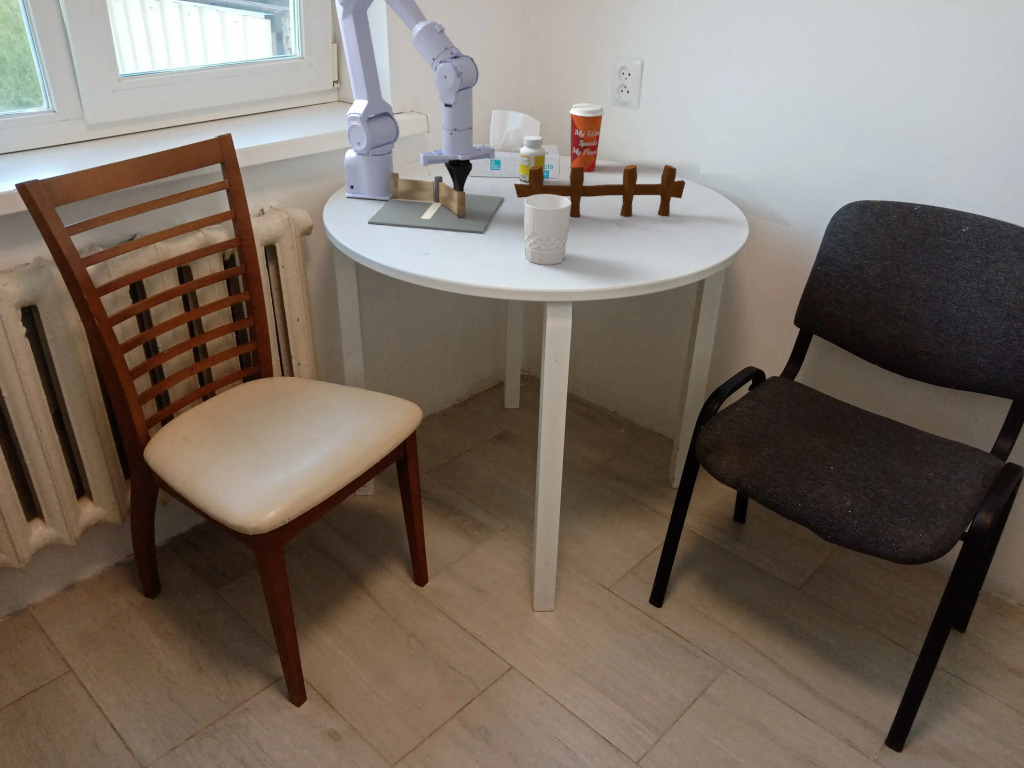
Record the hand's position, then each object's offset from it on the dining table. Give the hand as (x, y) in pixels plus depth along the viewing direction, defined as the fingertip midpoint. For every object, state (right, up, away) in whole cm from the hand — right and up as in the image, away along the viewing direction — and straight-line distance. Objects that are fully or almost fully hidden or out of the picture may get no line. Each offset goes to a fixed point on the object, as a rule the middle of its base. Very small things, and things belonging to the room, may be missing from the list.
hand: (458, 198), depth 154 cm
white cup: (+16, -14, -17) cm, 27 cm away
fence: (+27, -3, +3) cm, 28 cm away
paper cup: (+27, +14, +31) cm, 43 cm away
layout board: (-4, -2, +3) cm, 5 cm away
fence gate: (-1, -2, +2) cm, 3 cm away
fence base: (-9, +1, +7) cm, 11 cm away
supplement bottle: (+15, +8, +20) cm, 26 cm away
